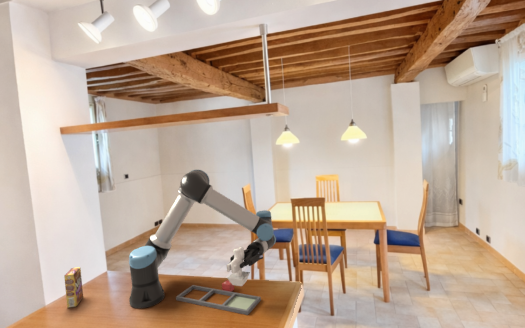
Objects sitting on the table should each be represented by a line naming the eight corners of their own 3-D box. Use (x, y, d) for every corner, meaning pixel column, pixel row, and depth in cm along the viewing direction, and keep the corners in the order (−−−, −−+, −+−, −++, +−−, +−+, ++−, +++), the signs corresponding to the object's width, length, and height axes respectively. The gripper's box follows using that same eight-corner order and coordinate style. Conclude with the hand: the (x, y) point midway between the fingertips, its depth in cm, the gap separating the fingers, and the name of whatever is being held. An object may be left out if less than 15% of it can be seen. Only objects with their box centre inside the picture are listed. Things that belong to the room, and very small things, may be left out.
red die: (222, 292, 145) (221, 283, 145) (227, 288, 149) (226, 279, 149) (229, 293, 144) (229, 284, 143) (234, 289, 147) (233, 280, 147)
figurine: (226, 287, 129) (223, 252, 128) (236, 277, 138) (234, 244, 137) (242, 289, 127) (239, 254, 125) (251, 279, 135) (249, 245, 134)
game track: (176, 300, 141) (175, 296, 141) (192, 287, 152) (192, 284, 152) (247, 315, 125) (247, 311, 125) (260, 300, 135) (260, 296, 135)
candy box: (77, 306, 142) (73, 274, 140) (67, 308, 141) (62, 275, 140) (84, 297, 150) (80, 266, 149) (74, 298, 149) (70, 267, 148)
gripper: (272, 258, 144) (249, 280, 123) (243, 254, 151) (215, 275, 130) (271, 242, 144) (247, 262, 123) (241, 239, 151) (214, 258, 130)
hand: (231, 269), depth 127 cm, fingers closed on figurine, 3 cm apart
